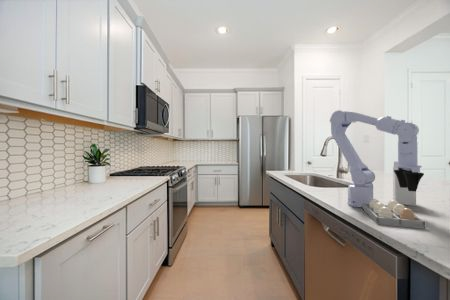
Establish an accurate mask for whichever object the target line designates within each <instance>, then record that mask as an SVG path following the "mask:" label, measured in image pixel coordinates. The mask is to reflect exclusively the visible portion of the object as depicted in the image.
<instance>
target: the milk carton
mask: <svg viewBox="0 0 450 300" xmlns="http://www.w3.org/2000/svg"><path fill="white" fill-rule="evenodd" d="M397 164H398V161H393V167H392V193H393V194H392V196H393V198H392V200H395V201H397V202H398V204H402V205H404V206H415V207H416V206H417V190H416V191H408V188H401V187H400V185H399V182H398V178H397V176H396V174H395V172H394V170H398V169H397ZM406 169H407V168H406Z"/></svg>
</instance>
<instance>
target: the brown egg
mask: <svg viewBox="0 0 450 300" xmlns="http://www.w3.org/2000/svg"><path fill="white" fill-rule="evenodd" d="M415 216H416V215H415V213H414V211H413V210H412V209H410V208H407V207H405V208H404V209H403V210H402V211H401V212H400V219H407V220H415Z"/></svg>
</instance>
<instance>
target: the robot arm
mask: <svg viewBox="0 0 450 300" xmlns="http://www.w3.org/2000/svg"><path fill="white" fill-rule="evenodd" d="M329 122H330V132H331V133H330V134H331V136H332V137H333V140H334V141H335V143H336V145H337V146H338V148H339V150H340V152H341V153H342V156H343V157H344V159H345V161H346V162H347V164H348V165H349V173H350V175H351V181H352V182H353V184H349V185H348V187H347V203H348V204H349V206H350V207H354V208H355V207H356V208H358V207H359V208H363V204H369V203H370V201H371V200H372V199H374V184H373V183H374V182H375V180H376V174H375V173H374V172H373V170H371V169H370V168H369V167H368V165H366V164H365V163H364V162H363V161H362V159H361V158H360V156H359V154H358V152H357V151H356V150H355V148H354V146H353V144H352V143H351V141H350V139H349V137H348V136H347V135H346V132H347V129H348V128H349V126H350V125H351V124H352V123H353V124H354V123H357V122H359V123H364V124H368V125H370V126H371V125H372V126H375V128H376V129H377V130H378V131H380V132H384V133H388V134H392V135H397V136H398V140H397V162H398V164H397V169H398V170H394V172H395V174H396V176H397V178H398V182H399V185H400V187H401V188H408V191H416V192H417V190H418V187H419V183H420V182H421V179H422V178H423V177H424V176H425V175H424V172H421V168H422V165H418V164H419V163H418V134H419V133H420V129H419V126H418V125H416V124H415V123H412V122H406V120H405V119H400V120H399V119H395V118H392V116H388V115H387V116H382V117H379V118H378V117H374V116H370V115H366V114H364V113H358V112H354V111H345V110H344V111H343V110H335V111H334V112H333V113H332V114H331V116H330V118H329ZM406 168H407V169H406Z"/></svg>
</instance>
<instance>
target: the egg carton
mask: <svg viewBox="0 0 450 300" xmlns="http://www.w3.org/2000/svg"><path fill="white" fill-rule="evenodd" d="M387 205H388V204H387ZM387 205H386V204H384V206H385V207H387ZM362 209H363V211H364V212H365V213H366V214H367V215H368V216H369V217H370V218H371V219H372V220H373V222H374V223H375V224H376V225H382V226H383V225H384V226H394V227H404V228H405V227H406V228H412V229H415V228H416V229H426V221H425V220H423V219H422V218H420V217H418V216H417V215H415V220H407V219H400V214H394V213H393V209H390V210H391V212H392V218H384V217H379V212H374V208H369V204H363V207H362Z"/></svg>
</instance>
